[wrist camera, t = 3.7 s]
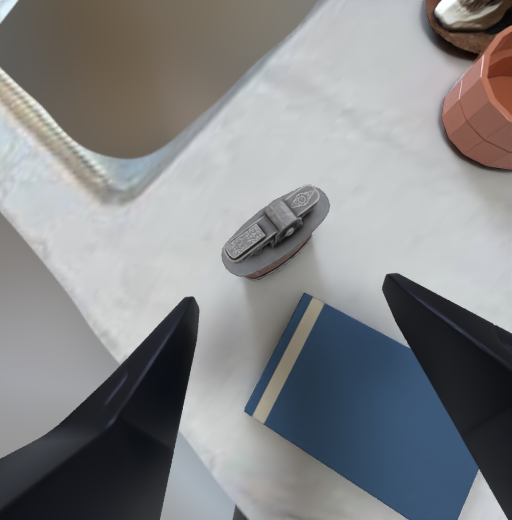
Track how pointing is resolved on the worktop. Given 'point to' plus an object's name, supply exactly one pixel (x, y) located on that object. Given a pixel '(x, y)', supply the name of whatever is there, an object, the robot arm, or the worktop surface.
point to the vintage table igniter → (275, 233)
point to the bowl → (484, 106)
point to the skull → (469, 21)
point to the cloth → (364, 412)
